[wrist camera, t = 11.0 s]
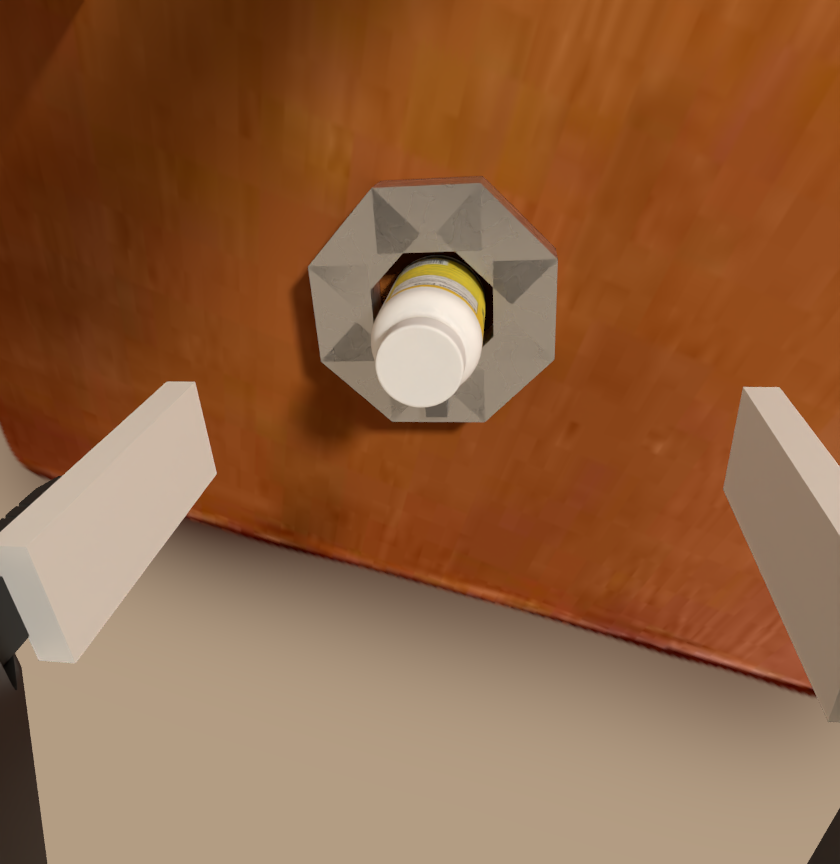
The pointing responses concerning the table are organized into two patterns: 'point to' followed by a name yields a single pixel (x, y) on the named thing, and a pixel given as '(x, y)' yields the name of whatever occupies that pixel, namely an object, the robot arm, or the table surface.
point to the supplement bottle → (429, 331)
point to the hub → (438, 232)
